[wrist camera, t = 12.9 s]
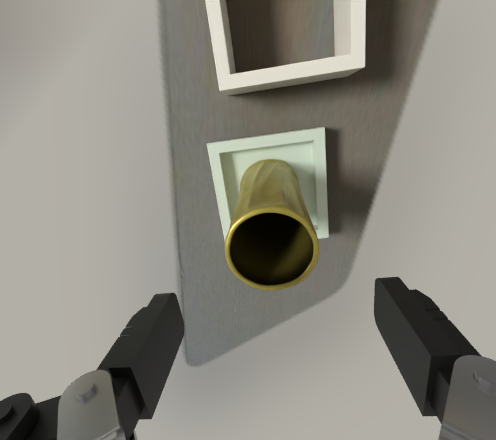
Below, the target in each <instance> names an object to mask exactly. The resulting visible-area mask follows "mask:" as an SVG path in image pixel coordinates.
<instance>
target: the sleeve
mask: <svg viewBox="0 0 496 440" xmlns="http://www.w3.org/2000/svg"><path fill="white" fill-rule="evenodd" d="M205 2H206V8H207V14H208V21H209V27H210V33H211V40H212V46H213V52H214V59H215V65H216V71H217V77H218V84H219V90H220V91H221V92H223V93H225V94H226V95H228V96H229V95H236V94H242V93H248V92H254V91H261V90H267V89H273V88H279V87H286V86H292V85H298V84H304V83H310V82H317V81H323V80H329V79H335V78H342V77H347V76H349V75H351V74H353V73H355V72H357V71H358V70H360V69H362V68H364V67H365V22H366V0H334V36H335V57H330V58H324V59H318V60H313V61H307V62H301V63H295V64H289V65H283V66H277V67H271V68H265V69H260V70H254V71H248V72H242V73H236V70H235V62H234V55H233V48H232V40H231V33H230V26H229V18H228V11H227V4H226V0H205Z"/></svg>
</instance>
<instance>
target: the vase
mask: <svg viewBox="0 0 496 440" xmlns="http://www.w3.org/2000/svg"><path fill="white" fill-rule="evenodd" d="M318 255H319V243H318V238H317V233H316V231H315V229H314V226H313V224H312V221H311V219H310V216H309V214H308V211H307V209H306V206H305V203H304V200H303V197H302V193H301V190H300V186H299V183H298V178H297V176H296V174H295V172H294V170H293V169H292V168H291V167H290V166H289V165H287V164H286V163H284V162H282V161H280V160H276V159H265V160H260V161H258V162H256V163H254V164H252V165H251V166H250V167H249V168H248V169H247V170H246V171H245V173H244V174H243V176H242V179H241V182H240V191H239V196H238V201H237V205H236V208H235V211H234V214H233V217H232V220H231V223H230V228H229V231H228V234H227V236H226V238H225V256H226V260H227V263H228V265H229V267H230V269H231V270H232V272H233V273H234V274H235V275H236V277H238V278H239V279H240V280H241V281H243V282H244V283H246V284H248V285H250V286H252V287H254V288H257V289H262V290H279V289H285V288H289V287H291V286H294V285H296V284H298V283H300V282H301V281H303V280H304V279H305V278H306V277H307V276H308V275H309V273H310V272H311V271H312V269H313V268H314V266H315V264H316V263H317V260H318Z"/></svg>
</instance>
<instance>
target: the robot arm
mask: <svg viewBox="0 0 496 440" xmlns="http://www.w3.org/2000/svg"><path fill="white" fill-rule="evenodd" d="M374 316H375V321H376V325H377V327H378V329H379V331H380V333H381V335H382V337H383V339H384V341H385V343H386V345H387V347H388V349H389V351H390V353H391V355H392V357H393V359H394V361H395V363H396V365H397V366H398V369H399V370H400V373H401V374H402V376H403V378H404V380H405V382H406V384H407V386H408V388H409V390H410V392H411V394H412V396H413V398H414V400H415V402H416V404H417V406H418V408H419V410H420V412H421V414H422V416H437V417H438V419H439V421H440V422H441V424H442V426H441V430H440V435H439V440H496V361H494V360H492V359H489V358H486V357H482V356H481V355H480V354H479V353H478V352H477V351H476V349H474V347H473V346H472V345H471V344H470V343H469V341H468V340H467V339H466V338H465V337H464V336H463V335H462V334H461V332H460V331H459V330H458V329H457V328H456V327H455V326H454V324H453V323H452V322H451V321H450V320H448V318H447V317H446V315H445V314H444V313H443V312H442V311H440V309H439V307H438V306H437V305H436V304H435V303H434V302H433V301H432V299H430V298H429V297H428V296H426V295H424V294H423V293H421V292H420V291H418V290H416V289H415V290H409V289H408V288H407V286H406V285H405V284H404V283H403V282H402V280H401V279H400V278H399V277H389V278H377V279H376V280H375V296H374ZM183 336H184V321H183V317H182V314H181V310H180V307H179V303H178V300H177V296H176V294H175V293H164V294H156V295H154V297H153V298H152V300H151V301H150V303H149V305H148V306H147V307H143V308H142V309H141V310H139V311H138V312H137V313H136V314H135V315H134V316H133V317H132V318H131V320H130V321H129V322H128V324H127V325H126V329H124V330H123V331H122V333H121V334H120V337H118V339H117V340H116V342H115V343H114V345H113V346H112V348H111V349H110V351H109V352H108V354H107V355H106V356H105V358H104V359H103V361H102V362H101V364H100V365H99V367H98V369H97V370H95V371H91V372H88V373H86V374H84V375H82V376H81V377H79V378H78V379H76V380H75V381H74V382H73V383H71V384H70V385H69V386H68V387H67V389H66V390H65V391H64V393H63V394H62V395H61V396H58V397H55V398H52V399H49V400H46V401H43V402H40V403H36V404H35V402H34V401H33V399H32V398H31V396H30V395H29V394H27V393H19V394H15V395H12V396H10V397H7V398H5V399H4V400H2V401H0V440H137V436H136V433H135V431H134V429H135V427H136V424H137V422H138V420H139V419H152V417H153V414H154V412H155V409H156V406H157V404H158V401H159V398H160V396H161V393H162V391H163V388H164V386H165V383H166V380H167V378H168V375H169V373H170V370H171V367H172V365H173V362H174V359H175V357H176V354H177V352H178V349H179V346H180V344H181V341H182V339H183Z"/></svg>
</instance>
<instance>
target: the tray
mask: <svg viewBox="0 0 496 440" xmlns="http://www.w3.org/2000/svg"><path fill="white" fill-rule="evenodd" d="M207 148H208V153H209V159H210V164H211V169H212V175H213V180H214V186H215V191H216V196H217V202H218V207H219V213H220V218H221V223H222V229H223V234H224V240H225V238H226V236H227V234H228V231H229V228H230V223H231V220H232V217H233V214H234V211H235V208H236V205H237V201H238V196H239V191H240V182H241V179H242V176H243V174H244V173H245V171H246V170H247V169H248V168H249V167H250V166H251V165H252V164H254V163H256V162H258V161H260V160H265V159H276V160H280V161H282V162H284V163H286V164H287V165H289V166H290V167H291V168H292V169H293V170H294V172H295V174H296V176H297V178H298V183H299V186H300V190H301V193H302V197H303V200H304V203H305V206H306V209H307V211H308V214H309V216H310V219H311V221H312V224H313V226H314V229H315V231H316V233H317V238H329V232H328V205H327V178H326V151H325V127H314V128H307V129H300V130H293V131H286V132H279V133H272V134H265V135H258V136H250V137H243V138H236V139H229V140H222V141H215V142H210V143H208V144H207Z"/></svg>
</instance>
